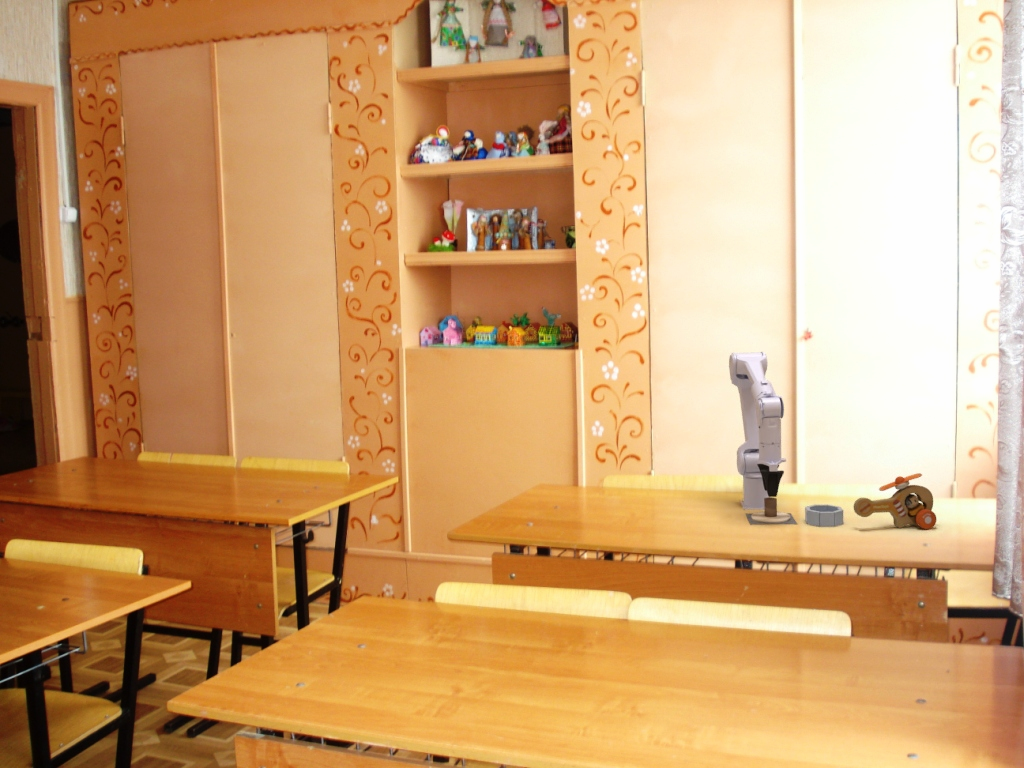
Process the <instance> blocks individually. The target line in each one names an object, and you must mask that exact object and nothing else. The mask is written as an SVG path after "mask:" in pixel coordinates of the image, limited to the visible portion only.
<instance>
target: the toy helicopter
mask: <svg viewBox="0 0 1024 768" xmlns="http://www.w3.org/2000/svg"><path fill="white" fill-rule="evenodd" d="M922 476H923V474H922V473H915V474H911V475H907V476H906V477H903V476H897V477H895V479H894V481H892V482H890V483H887V484H884V485H882V486H881V487H879V488H878V491H881V492H884V491H887V490H889V489H892V488H895V489H896V492H895V493H893V494H892V496H891V497H889V498H881V499H873V500H871V499H870V498H867V497H859V498H857V499H856V500H855V501H854V503H853V511H854V513H855V514H856V515H857V516H859V517H862V518H867V517H870V516H871V515H872V514H875V513H876V514H877V513H889V514H890V515H891V517H892V518H893V525H894V526H895V527H897V528H899V529H902V528H903V527H905V526H907V525H912V526H913V525H917V526H918V527H920V528H921V529H924V530H930V529H932V528H933V527H935V526H936V523H937V515H936V513H935V512H934V511H932V510H933V507H934V497H933V493H932V491H930V489H928V488H927V487H925V486H922V485H918V484H910V481H912V480H915V479H919V478H921V477H922Z"/></svg>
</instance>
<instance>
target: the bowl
mask: <svg viewBox="0 0 1024 768" xmlns="http://www.w3.org/2000/svg"><path fill="white" fill-rule="evenodd" d="M804 521H805V523H806V524H807V525H809V526H814V527H819V528H820V527H821V528H824V527H825V528H827V527H829V528H831V527H833V528H834V527H839V526H842V525H844V509H843V508H842V507H841V506H838V505H835V504H834V505H833V504H812V505H806V506H804Z"/></svg>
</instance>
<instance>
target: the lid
mask: <svg viewBox="0 0 1024 768" xmlns="http://www.w3.org/2000/svg"><path fill="white" fill-rule="evenodd" d="M777 500H778V499H777V498H776V497H767V498H764V509H763V510H764V511H759V512H758V511H757V512H754V513H753V512H752V513H753V514H752V515H751V519H752V520H754V521H757V522H762V523H783V522H787V521H789V520H790V515H789V514H786V513H787V512H782V511H778V504H777V503H778V501H777Z"/></svg>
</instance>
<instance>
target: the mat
mask: <svg viewBox="0 0 1024 768" xmlns="http://www.w3.org/2000/svg"><path fill="white" fill-rule="evenodd" d="M785 513H786V514H789V515H790V520H789V521H787V522H783V523H762V522H757V521H754V520H752V519H751V515H752V514H753V512H751V513H750V512H749V513H745V517H746V518H747V521H748V524H749V525H751V526H752V525H754V526H755V525H756V526H757V525H761V526H762V525H765V526H766V525H778V526H779V525H798V523H797V521H796V519H795V518H794V515H792V513H791V512H785Z"/></svg>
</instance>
